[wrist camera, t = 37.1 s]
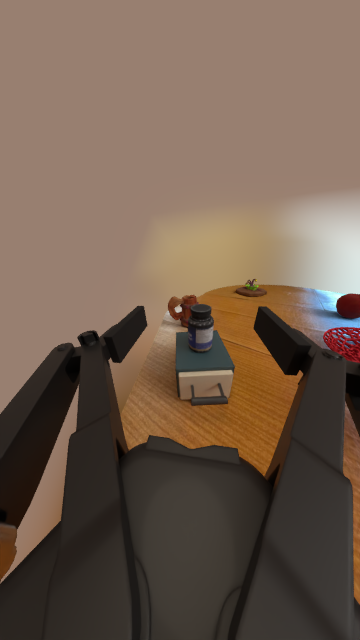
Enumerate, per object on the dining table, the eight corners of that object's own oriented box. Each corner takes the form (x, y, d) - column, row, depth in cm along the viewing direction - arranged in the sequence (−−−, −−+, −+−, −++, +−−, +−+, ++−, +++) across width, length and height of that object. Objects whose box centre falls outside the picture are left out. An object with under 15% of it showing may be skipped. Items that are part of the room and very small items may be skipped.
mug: (195, 319, 70) (195, 291, 64) (201, 326, 63) (202, 296, 57) (168, 324, 68) (165, 295, 61) (171, 332, 61) (168, 300, 54)
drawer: (236, 417, 28) (242, 393, 24) (180, 419, 28) (178, 396, 24) (215, 357, 44) (216, 337, 40) (179, 358, 44) (178, 339, 40)
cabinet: (229, 394, 33) (234, 366, 28) (178, 397, 33) (175, 369, 29) (214, 354, 46) (216, 330, 42) (178, 356, 46) (176, 332, 42)
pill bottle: (187, 340, 38) (186, 303, 33) (208, 338, 38) (210, 302, 33) (189, 354, 32) (188, 314, 27) (214, 353, 32) (218, 312, 27)
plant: (250, 298, 95) (254, 282, 90) (231, 292, 112) (233, 278, 107) (270, 294, 101) (274, 278, 96) (250, 288, 118) (252, 275, 113)
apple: (324, 313, 69) (335, 290, 64) (345, 312, 69) (358, 289, 63) (348, 323, 59) (363, 297, 54) (373, 321, 59) (390, 296, 54)
